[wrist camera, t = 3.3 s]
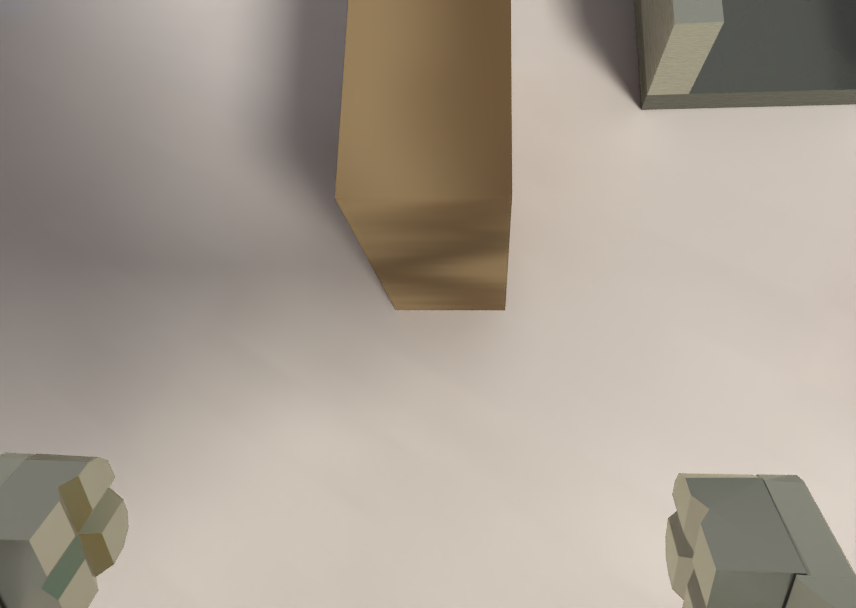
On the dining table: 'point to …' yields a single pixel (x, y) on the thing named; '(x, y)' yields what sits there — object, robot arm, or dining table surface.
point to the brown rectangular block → (429, 148)
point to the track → (746, 53)
